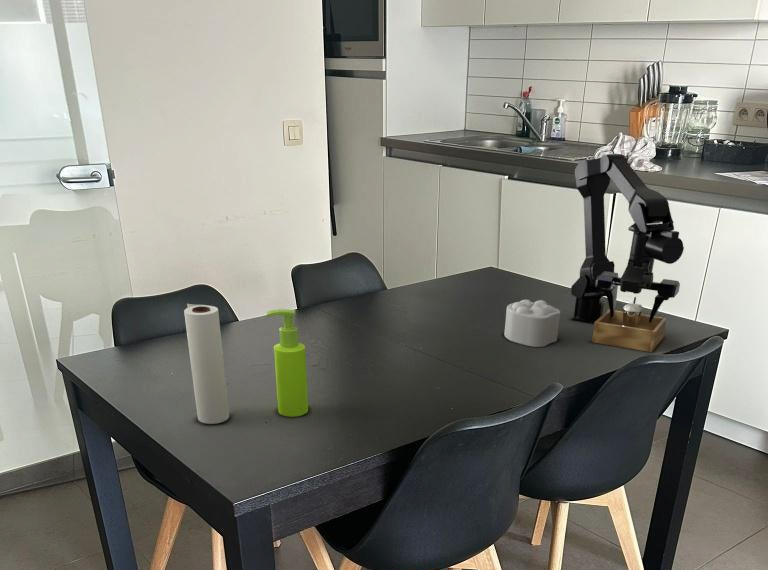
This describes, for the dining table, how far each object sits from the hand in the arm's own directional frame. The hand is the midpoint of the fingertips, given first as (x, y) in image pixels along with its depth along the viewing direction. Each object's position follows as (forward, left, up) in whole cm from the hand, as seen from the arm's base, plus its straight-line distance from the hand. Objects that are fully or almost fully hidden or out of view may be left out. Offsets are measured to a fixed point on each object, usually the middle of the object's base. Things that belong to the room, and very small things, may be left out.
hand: (631, 319), depth 189 cm
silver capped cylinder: (0, 0, -5) cm, 5 cm away
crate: (0, 0, -5) cm, 5 cm away
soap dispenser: (-47, -78, -5) cm, 91 cm away
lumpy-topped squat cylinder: (-22, -11, -5) cm, 25 cm away
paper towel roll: (-58, -88, -5) cm, 106 cm away
